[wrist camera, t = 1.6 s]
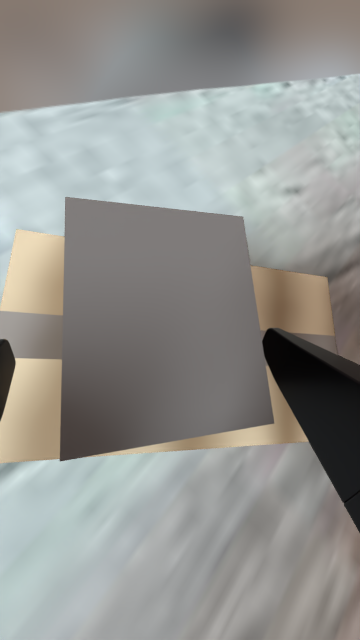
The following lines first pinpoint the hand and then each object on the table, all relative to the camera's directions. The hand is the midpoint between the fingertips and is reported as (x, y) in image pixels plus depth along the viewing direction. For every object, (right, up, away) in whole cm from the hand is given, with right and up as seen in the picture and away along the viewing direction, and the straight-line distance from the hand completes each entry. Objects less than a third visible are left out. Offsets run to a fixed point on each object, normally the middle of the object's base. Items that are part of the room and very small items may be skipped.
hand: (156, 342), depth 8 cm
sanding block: (-1, -1, +5) cm, 5 cm away
